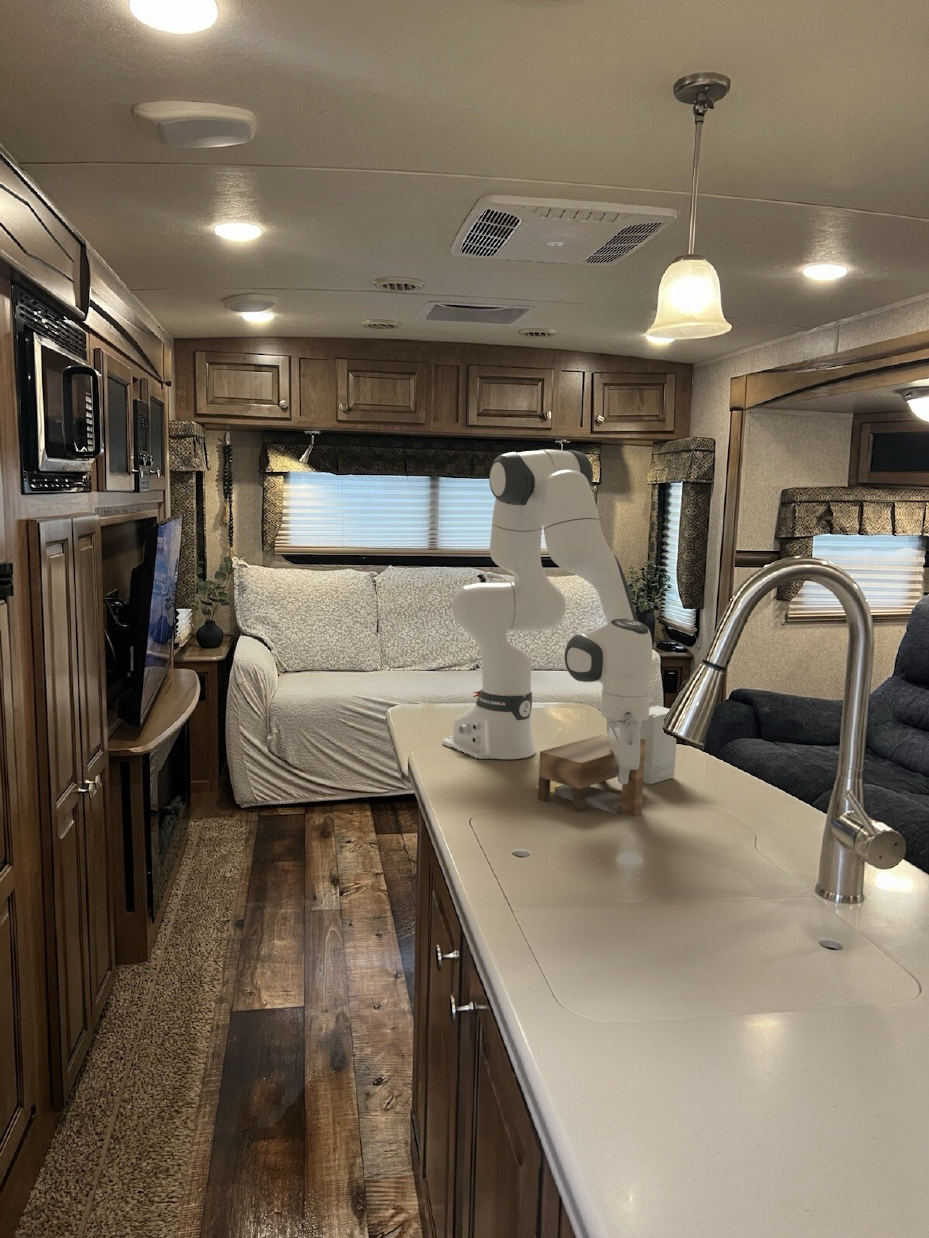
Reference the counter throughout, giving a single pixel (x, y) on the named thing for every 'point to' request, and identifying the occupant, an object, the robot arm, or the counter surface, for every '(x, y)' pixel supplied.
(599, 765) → the small wooden table
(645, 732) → the skincare box
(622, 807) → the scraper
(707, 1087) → the counter surface
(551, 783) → the tan square tile
